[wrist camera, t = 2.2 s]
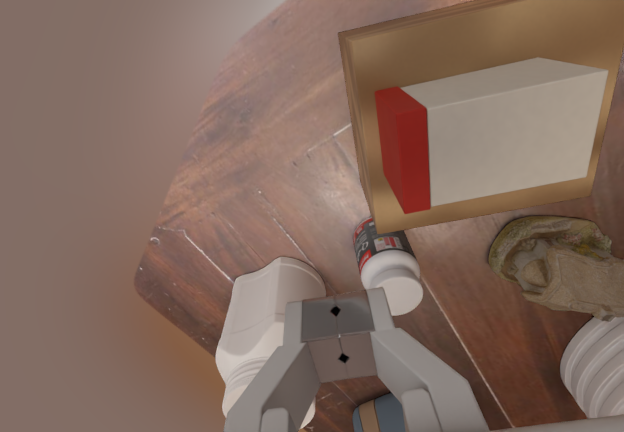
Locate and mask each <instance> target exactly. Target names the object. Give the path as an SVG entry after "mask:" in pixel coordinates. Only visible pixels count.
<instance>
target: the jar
mask: <svg viewBox="0 0 624 432" xmlns="http://www.w3.org/2000/svg"><path fill="white" fill-rule="evenodd" d="M319 297H326V289H325V285H324V282H323V280H322V278H321V276H320V275H319V274H318V273H317V271H316V270H314V269H313V268H312V267H311V266H309V265H308V264H306V263H304V262H302V261H300V260H297V259H293V258H289V257H279V258H277V259H275V260H273V261H272V262H271V263H270V264H269V265H267V266H266V267H264V268H262V269H260V270H258V271H256V272H253V273H249V274H244V275H242V276H240V277H238V278H236V280H235V283H234V286H233V290H232V297H231V301H230V305H229V309H228V313H227V316H226V320H225V324H224V328H223V332H222V335H221V338H220V340H219V343H218V347H217V351H216V365H217V368H218V370H219V372H220V374H221V376H222V378H223V380H224V382H225V384H226V390H225V394H224V399H223V404H222V410H223V413H224V415H225V417H227V413H228V411H229V410H230V409H231V407H232V406H233V405H234V404H235V402H236V401H237V400H238V398H239V397H240V396H241V394H242V393H243V392H244V390H245V389H246V388H247V386H248V385H249V384H250V382H251V381H252V380H253V379H254V377H255V376H256V375H257V373H258V372H259V371H260V369H261V368H262V367H263V365H264V364H265V363H266V361H267V360H268V359H269V358H270V356H271V355H272V354H273V352H274V351H275V350H276V348H277V347H278V346H283V334H284V321H285V307H286V304H287V302H294V301H301V300H305V299H312V298H319ZM314 413H315V398H314V400H313V402H312V404H311V406H310V408H309V410H308V412H307V414H306V416H305V418H304V420H303V422H302V424H301V426H300V428H299V429H301V428H303V427H304V426H306V425H307V424H308V423H309V422H310V421H311V420H312V418H313V416H314Z"/></svg>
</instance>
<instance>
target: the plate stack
mask: <svg viewBox="0 0 624 432" xmlns="http://www.w3.org/2000/svg"><path fill="white" fill-rule="evenodd" d="M560 375H561V379H562V381H563V383H564V385H565V386H566V388H567V389H568V391H569V392H570V393H571V395H572V396H573V397H574V399H575V401H576V402H577V404H578V405H579V407H580V408H581V409H582V411H583V412H584V413H585V414H586V416H587V418H588V419H590V418H598V417H606V416H614V415H622V414H624V317H618V318H617V317H615V318H614V319H613V320H612V321H611V322H608V321H601V320H599V319H597V318H595V317H593V318H592V319H591V320H590V321H588V322H587V323H586V324H585V325H584V326H583V327H582V328H581V329H580V330H579V331H578V332H577V333H576V335H575V336H574V337H573V338H572V340H571V341H570V343H569V344H568V346H567V347H566V349H565V351H564V353H563V356H562V359H561V363H560Z"/></svg>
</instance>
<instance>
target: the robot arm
mask: <svg viewBox="0 0 624 432" xmlns="http://www.w3.org/2000/svg"><path fill="white" fill-rule="evenodd" d="M375 375H378V377H379V378H380V380H381V381H382V382H383V383H384V384H385V385H386V387H387V388H388V389H389V390H390V391H391V392H392V393H393V395H394V396H395V397H396V398H397V399H398V400H399V402H400V403H401V404H402V408H403V416H404V423H405V431H406V432H624V414H622V415H614V416H606V417H598V418H590V419H582V420H574V421H566V422H558V423H550V424H542V425H534V426H526V427H518V428H510V429H502V430H494V431H490V430H489V428H488V426H487V424H486V421H485V419H484V417H483V415H482V412H481V410H480V408H479V405H478V403H477V401H476V399H475V396H474V394H473V392H472V390H471V387H470V385H469V383H468V380H466V379H465V378H464V377H462V376H461V375H460V374H459V373H457V372H456V371H455V370H454V369H452V368H451V367H450V366H449V365H447V364H446V363H445V362H443V361H442V360H441V359H440V358H438V357H437V356H436V355H435V354H433V353H432V352H431V351H430V350H428V349H427V348H426V347H424V346H423V345H422V344H421V343H419V342H418V341H417V340H416V339H414V338H413V337H412V336H411V335H409V334H408V333H407V332H405V331H404V330H403V329H402V328H395V325H394V322H393V318H392V315H391V311H390V308H389V304H388V301H387V297H386V294H385V290H384V288H383V287H377V288H372V289H366V290H361V291H356V292H350V293H344V294H339V295H334V296H327V297H319V298H312V299H305V300H301V301H294V302H287V304H286V307H285V321H284V334H283V346H278V347H277V348H276V350H275V351H274V352H273V354H272V355H271V356H270V358H269V359H268V360H267V361H266V363H265V364H264V365H263V367H262V368H261V369H260V371H259V372H258V373H257V375H256V376H255V377H254V379H253V380H252V381H251V382H250V384H249V385H248V386H247V388H246V389H245V390H244V392H243V393H242V394H241V396H240V397H239V398H238V400H237V401H236V402H235V404H234V405H233V406H232V407H231V409H230V410H229V411H228V413H227V417H226V422H225V427H224V432H298V431H299V428H300V426H301V424H302V422H303V420H304V418H305V416H306V414H307V412H308V410H309V408H310V406H311V404H312V402H313V400H314V398H315V396H316V394H317V392H318V389H319V387H320V383H325V382H331V381H337V380H343V379H349V378H357V377H366V376H375Z"/></svg>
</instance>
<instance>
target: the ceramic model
mask: <svg viewBox="0 0 624 432" xmlns="http://www.w3.org/2000/svg"><path fill="white" fill-rule="evenodd" d="M611 243H612V241H611V240H610V239H609V238H608V236H607V235H604V234H602V232H601V231H600V230H599V228H598V226H597V225H596V224H595V223H594V222H591V221H589V220H584V219H577V218H568V217H558V216H530V217H525V218H520V219H517V220H514V221H512V222H511V223H509V224H508V225H506V226H505V228H504V229H503V230H502V231H501V232H500V234H499V235H498V237H497V238H496V239H495V241H494V242H493V244H492V246H491V249H490V253H489V264H490V266H491V268H492V270H493V271H494V273H495V274H497V275H498V276H499V277H501V278H502V279H505V280H507V281H510V282H516V283H517V284H518V285H520V286H522V287H523V289H524V291H522V292H521V295H522V296H523V297H525V298H526V299H527V300H529V301H531V302H534V303H538V304H541V305H544V306H547V307H548V308H550V309H551V310H558V311H569V310H573V311H579V312H584V313H591V314H592V315H593V316H594V317H595V318H597V319H599V320H601V321H608V322H611V321H612V320H613V319H614V318H615V317H617V318H618V317H624V260H622V259H619V258H615V257H613V256H611V255H610V253H611V250H610V248H611V246H610V245H611Z"/></svg>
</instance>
